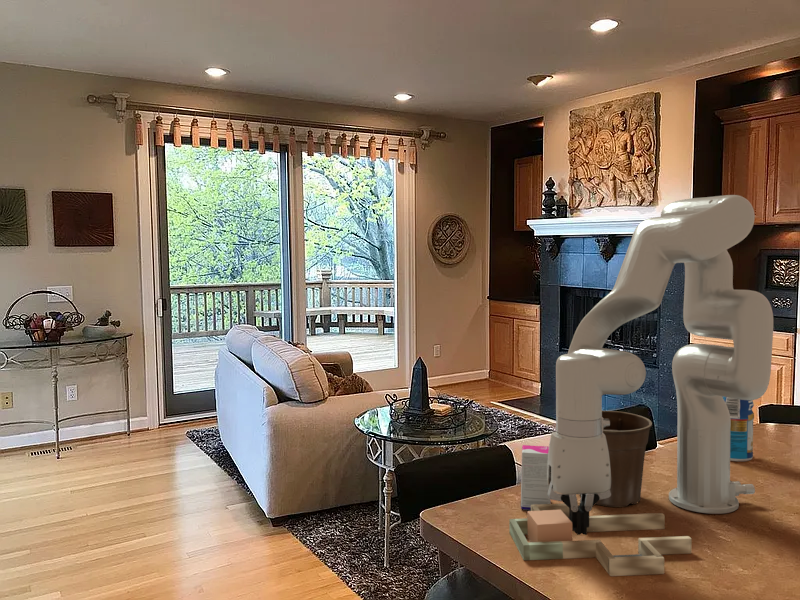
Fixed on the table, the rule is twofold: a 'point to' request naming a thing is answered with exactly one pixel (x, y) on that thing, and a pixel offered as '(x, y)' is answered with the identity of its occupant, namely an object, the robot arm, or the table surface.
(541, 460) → the supplement box
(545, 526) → the terracotta block
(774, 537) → the table surface
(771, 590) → the table surface
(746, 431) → the blue cylindrical canister
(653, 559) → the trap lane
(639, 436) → the plant pot
